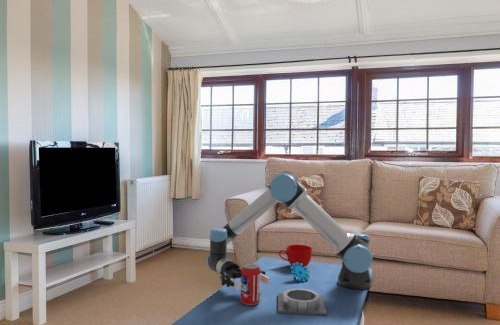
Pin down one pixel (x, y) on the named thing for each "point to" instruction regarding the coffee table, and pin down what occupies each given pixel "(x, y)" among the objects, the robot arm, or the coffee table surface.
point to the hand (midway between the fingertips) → (254, 284)
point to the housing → (301, 302)
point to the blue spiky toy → (300, 272)
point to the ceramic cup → (298, 254)
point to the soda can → (250, 284)
